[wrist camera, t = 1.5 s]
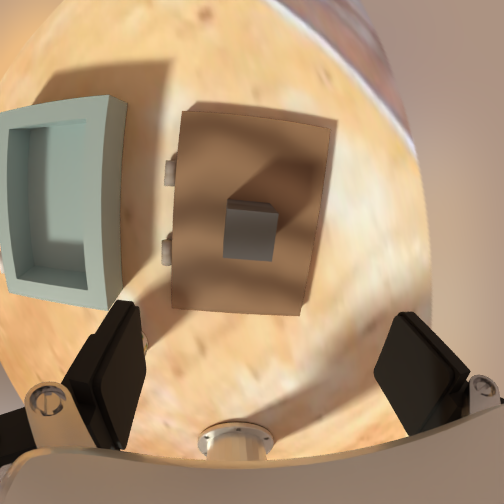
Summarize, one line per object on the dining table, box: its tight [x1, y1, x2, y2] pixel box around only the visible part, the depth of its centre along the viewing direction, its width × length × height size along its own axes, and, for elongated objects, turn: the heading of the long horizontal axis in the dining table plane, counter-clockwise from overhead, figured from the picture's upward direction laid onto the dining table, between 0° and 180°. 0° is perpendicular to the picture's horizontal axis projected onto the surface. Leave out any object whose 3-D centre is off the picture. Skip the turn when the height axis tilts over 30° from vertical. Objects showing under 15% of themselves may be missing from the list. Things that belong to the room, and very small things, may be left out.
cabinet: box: [0, 95, 128, 311], centre depth 24 cm, size 20×15×5 cm
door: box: [162, 111, 331, 316], centre depth 26 cm, size 20×15×6 cm
